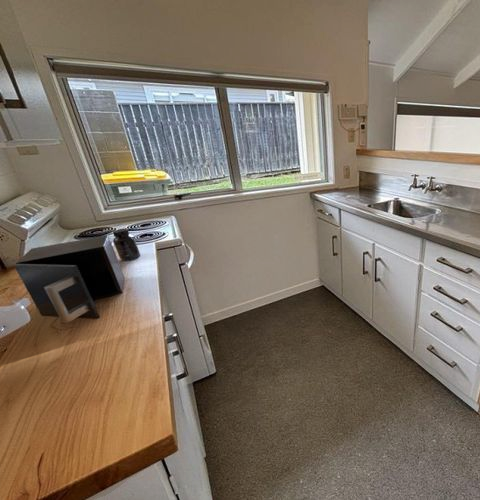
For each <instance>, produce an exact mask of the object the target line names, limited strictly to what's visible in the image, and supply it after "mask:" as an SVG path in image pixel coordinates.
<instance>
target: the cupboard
mask: <svg viewBox="0 0 480 500" xmlns="http://www.w3.org/2000/svg"><path fill="white" fill-rule="evenodd" d="M15 264H46V265H77V267H78V270H79V272H80V274H81V276H82V278H83V281H84V283H85V285H86V287H87V289H88V291H89V294H90V296H91V298H92V300H93V302H95V301H99V300H103V299H107V298H110V297H114V296H118V295H121V294H124V287H125V279H126V277H125V275H124V272H123V269H122V267H121V265H120V262H119V259H118V256H117V254H116V252H115V249H114V245H113V244H112V241H111V238H110V236H109V235H108V234H106V235H102V236H96V237H95V236H94V237H90V238H84V239H78V240H72V241H67V242H61V243H56V244H48V245H44V246H38V247H33V248H30V249H29V250H28V251H27V252H26V253H25V254H24V255H22V256H21V258H19V260H18V261H16V263H15Z"/></svg>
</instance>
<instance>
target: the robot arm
mask: <svg viewBox="0 0 480 500" xmlns="http://www.w3.org/2000/svg"><path fill="white" fill-rule="evenodd" d="M11 303H12V305H7V306H0V339H3V338H4V337H6V336H8V335H9V334H11V333H13V332H15V331H17V330H18V329H21V328H22V327H24V326H25V325H27V324H29V323H30V321H31V315H30V314H29V311H28V310H27V309H26V308H27V307H29V306H31V300H30V298H28V297H19V298H17V299H15V300H13V301H12V302H11Z"/></svg>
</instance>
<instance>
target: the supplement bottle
mask: <svg viewBox="0 0 480 500" xmlns="http://www.w3.org/2000/svg"><path fill="white" fill-rule="evenodd" d="M112 234H113V237H114V238H113V239H112V242H113V246H114V247H115V250H116V252H117V256H118V257H119V259H120V261H122V262H128V261H127V260H129V261H133V260H136V259H138V258H140V257H141V253H140V250H139V247H138V243H137V242H136V238H135V237H134V236H133V235H132V234H130V231H129V229H128V228H119V229H115V230H113V231H112ZM135 258H136V259H135ZM132 259H133V260H132Z"/></svg>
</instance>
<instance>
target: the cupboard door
mask: <svg viewBox="0 0 480 500" xmlns="http://www.w3.org/2000/svg"><path fill="white" fill-rule="evenodd" d="M13 267H14V269H15V271H16V273H17V274H18V277H19V278H20V280H21V281H22V283H23V285H24V287H25V289H26V291H27V292H28V295H29V296H30V298H31V299H32V302H33V303H34V305H35V307H36V308H37V310H38V312H39V314H40V316H41V317H54V318H55V317H58V318H59V320H60V321H61V323H62V324H67V323H70V322H72V321H73V320H75V319H78V318H79V319H93V320H94V319H95V320H97V319H101V316H100V313H99V311H98V308H97V307H96V305H95V303H94V302H95V301H93V300H92V298H91V296H90V294H89V291H88V289H87V287H86V285H85V283H84V281H83V278H82V276H81V274H80V272H79V270H78V267H77V265H46V264H16V263H15V264H13Z"/></svg>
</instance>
